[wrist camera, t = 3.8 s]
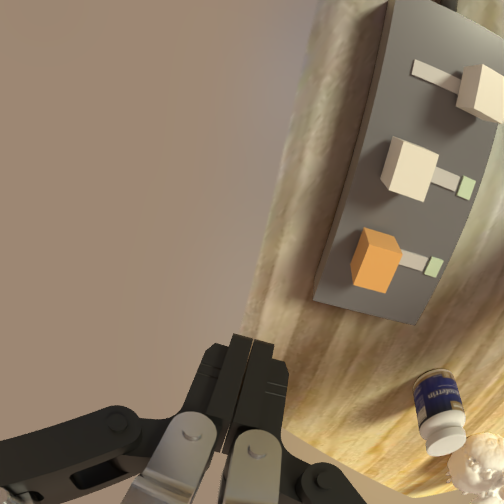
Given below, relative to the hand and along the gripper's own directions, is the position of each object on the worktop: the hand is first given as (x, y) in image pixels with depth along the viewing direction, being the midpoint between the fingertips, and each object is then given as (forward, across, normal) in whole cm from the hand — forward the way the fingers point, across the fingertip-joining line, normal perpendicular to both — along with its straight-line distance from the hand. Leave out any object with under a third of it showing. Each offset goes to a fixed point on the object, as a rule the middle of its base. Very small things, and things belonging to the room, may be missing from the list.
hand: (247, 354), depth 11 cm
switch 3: (+14, -11, -14) cm, 22 cm away
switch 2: (+14, -7, -7) cm, 17 cm away
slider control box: (+18, -9, -10) cm, 22 cm away
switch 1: (+14, -7, 0) cm, 15 cm away
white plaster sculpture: (+17, -51, +32) cm, 62 cm away
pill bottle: (+18, -24, +16) cm, 34 cm away
